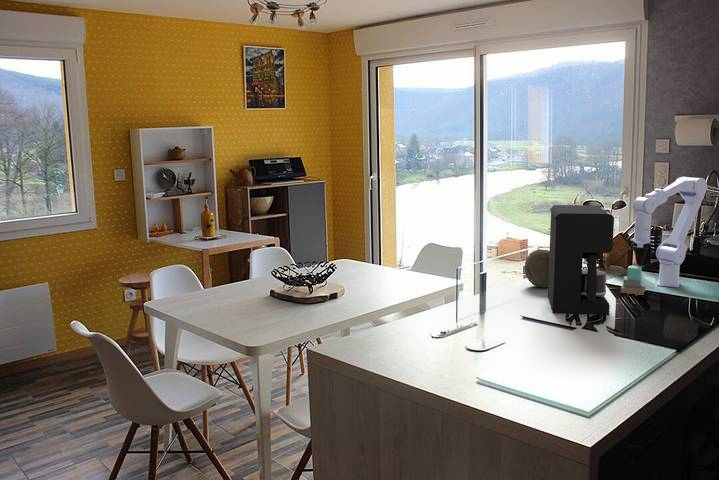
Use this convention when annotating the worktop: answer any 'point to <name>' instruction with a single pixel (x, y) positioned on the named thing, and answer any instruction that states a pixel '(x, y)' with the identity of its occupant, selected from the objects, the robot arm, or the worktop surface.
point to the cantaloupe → (538, 268)
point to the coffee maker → (578, 258)
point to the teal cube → (634, 272)
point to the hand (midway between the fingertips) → (640, 262)
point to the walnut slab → (633, 290)
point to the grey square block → (631, 283)
